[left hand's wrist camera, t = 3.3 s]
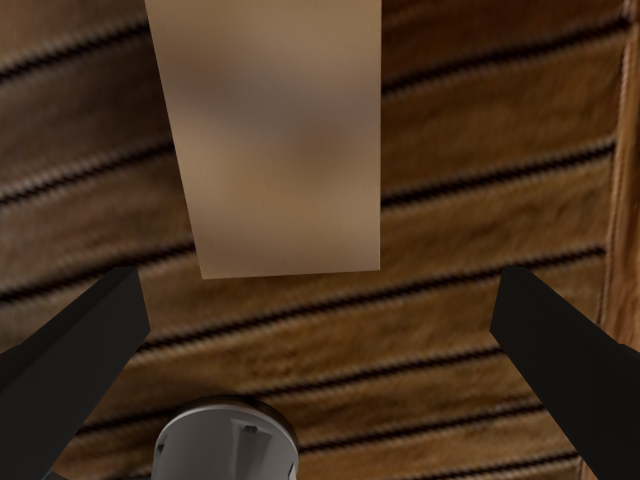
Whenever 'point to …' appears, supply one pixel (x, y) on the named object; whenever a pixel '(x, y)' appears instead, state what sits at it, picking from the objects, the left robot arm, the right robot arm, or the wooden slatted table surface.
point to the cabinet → (275, 130)
